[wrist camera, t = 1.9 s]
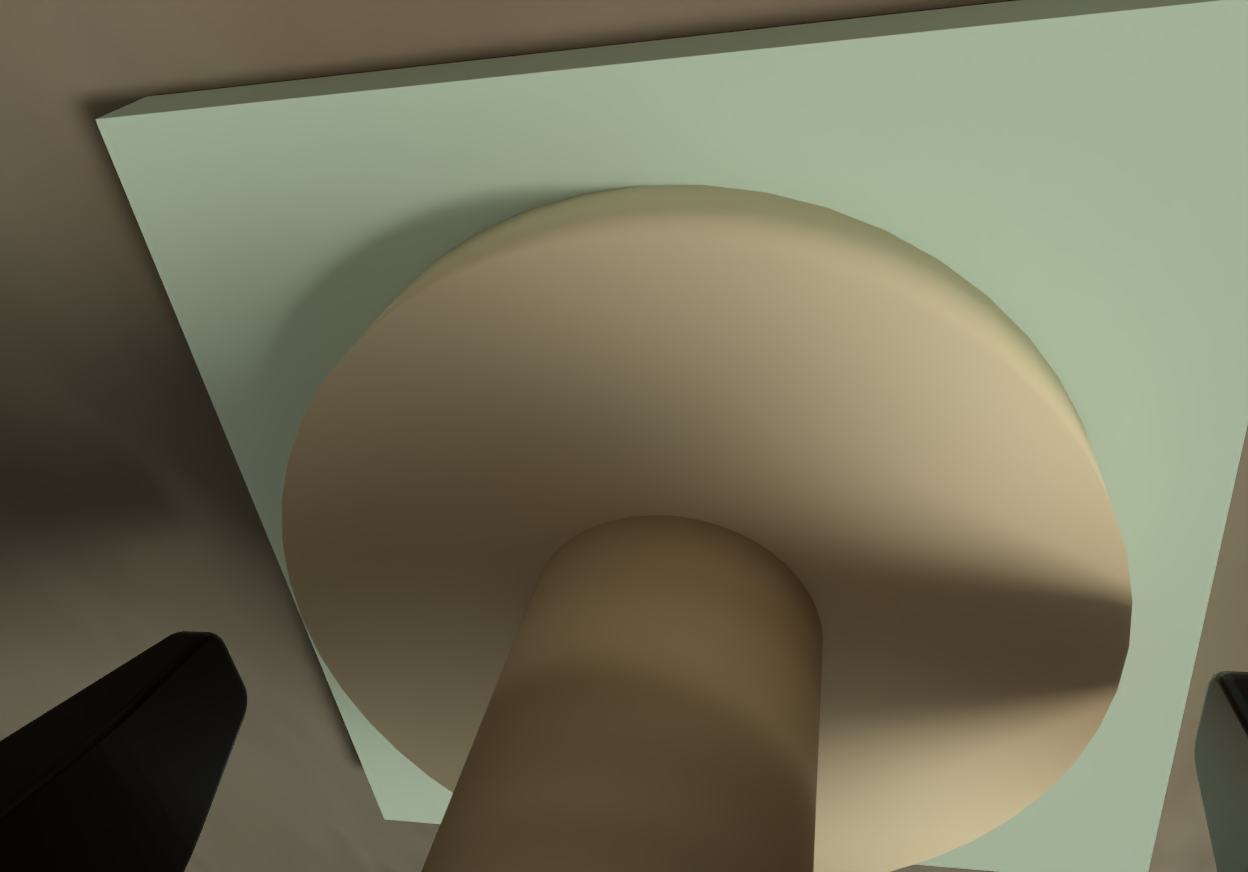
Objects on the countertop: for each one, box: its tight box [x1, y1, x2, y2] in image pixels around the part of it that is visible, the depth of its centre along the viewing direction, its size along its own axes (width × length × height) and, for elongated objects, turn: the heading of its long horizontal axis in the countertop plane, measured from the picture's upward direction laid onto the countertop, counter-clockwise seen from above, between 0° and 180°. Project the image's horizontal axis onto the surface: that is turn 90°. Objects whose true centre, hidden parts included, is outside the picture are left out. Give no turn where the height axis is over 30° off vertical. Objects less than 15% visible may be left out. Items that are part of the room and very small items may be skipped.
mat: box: [95, 0, 1248, 872], centre depth 11 cm, size 10×10×1 cm
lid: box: [282, 185, 1132, 872], centre depth 8 cm, size 8×8×5 cm
